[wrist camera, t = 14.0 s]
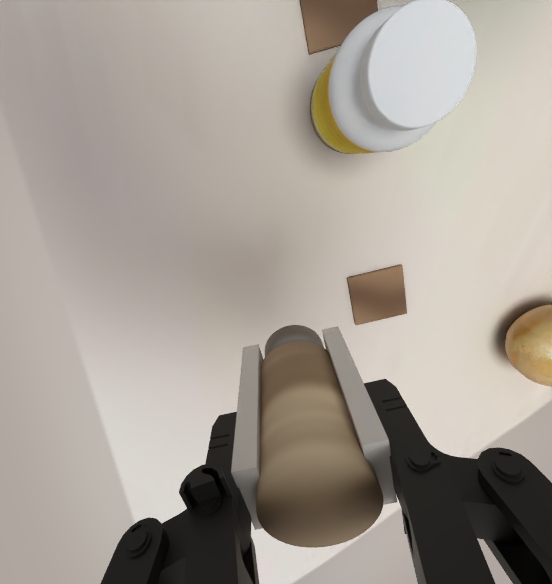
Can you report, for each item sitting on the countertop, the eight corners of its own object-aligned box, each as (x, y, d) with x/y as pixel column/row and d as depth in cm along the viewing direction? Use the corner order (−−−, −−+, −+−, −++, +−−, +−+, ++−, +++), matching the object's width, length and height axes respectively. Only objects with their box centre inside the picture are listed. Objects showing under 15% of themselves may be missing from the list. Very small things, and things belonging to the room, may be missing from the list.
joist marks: (293, -37, 21) (294, -39, 21) (369, -60, 21) (370, -62, 20) (355, 323, 31) (355, 325, 31) (405, 311, 31) (406, 313, 31)
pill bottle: (333, 170, 26) (383, 179, 15) (292, 90, 24) (317, 36, 13) (407, 122, 25) (517, 97, 14) (372, 34, 22) (471, -77, 12)
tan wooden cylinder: (250, 329, 16) (241, 477, 8) (322, 312, 16) (376, 450, 8) (268, 386, 17) (272, 556, 10) (333, 371, 17) (389, 534, 10)
